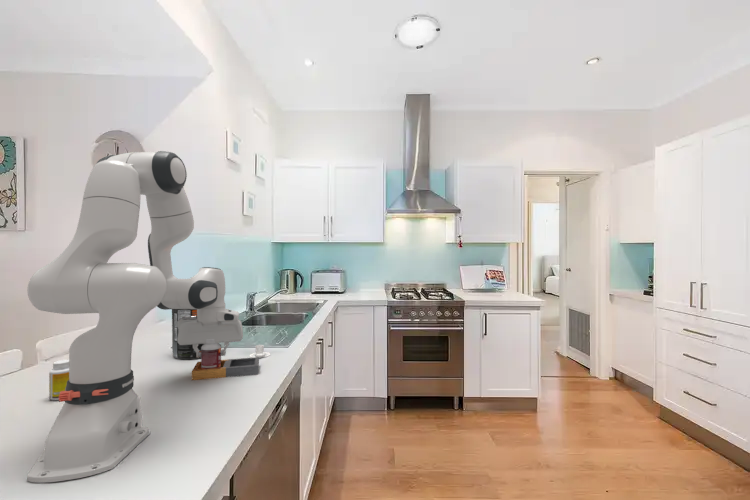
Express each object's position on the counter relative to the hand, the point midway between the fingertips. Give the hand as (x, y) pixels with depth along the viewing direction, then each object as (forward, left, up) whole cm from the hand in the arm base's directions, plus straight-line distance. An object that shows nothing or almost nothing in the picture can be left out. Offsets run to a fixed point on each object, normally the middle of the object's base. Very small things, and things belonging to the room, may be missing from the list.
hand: (211, 356), depth 127 cm
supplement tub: (+27, +10, -6) cm, 30 cm away
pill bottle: (0, 0, -5) cm, 5 cm away
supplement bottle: (-10, +38, -6) cm, 40 cm away
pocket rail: (0, -5, -6) cm, 8 cm away
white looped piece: (+18, -13, -7) cm, 23 cm away
